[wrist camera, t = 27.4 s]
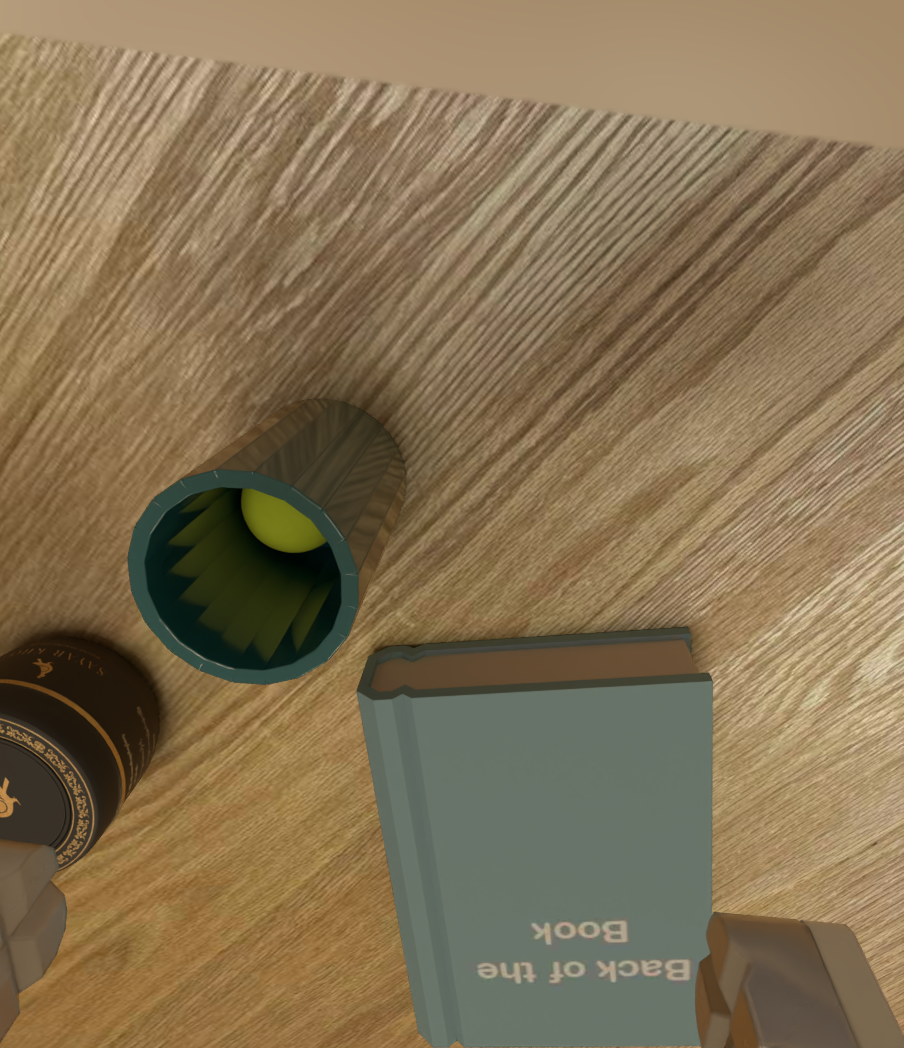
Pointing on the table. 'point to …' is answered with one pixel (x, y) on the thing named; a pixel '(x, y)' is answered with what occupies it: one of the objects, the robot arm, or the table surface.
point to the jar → (70, 742)
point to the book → (547, 834)
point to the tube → (256, 569)
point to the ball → (279, 523)
